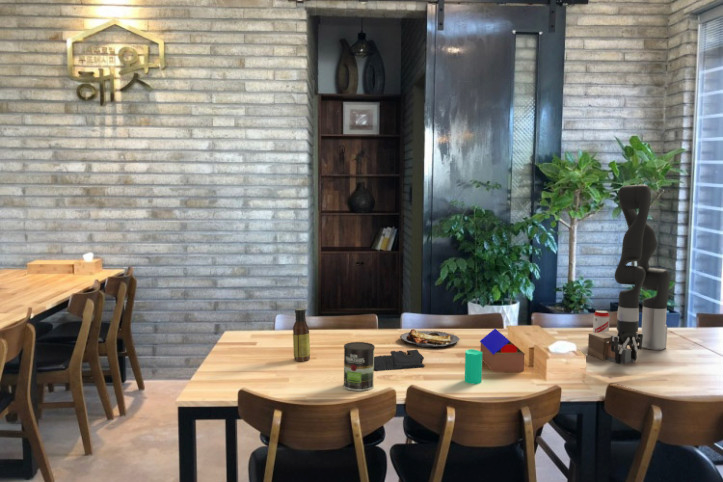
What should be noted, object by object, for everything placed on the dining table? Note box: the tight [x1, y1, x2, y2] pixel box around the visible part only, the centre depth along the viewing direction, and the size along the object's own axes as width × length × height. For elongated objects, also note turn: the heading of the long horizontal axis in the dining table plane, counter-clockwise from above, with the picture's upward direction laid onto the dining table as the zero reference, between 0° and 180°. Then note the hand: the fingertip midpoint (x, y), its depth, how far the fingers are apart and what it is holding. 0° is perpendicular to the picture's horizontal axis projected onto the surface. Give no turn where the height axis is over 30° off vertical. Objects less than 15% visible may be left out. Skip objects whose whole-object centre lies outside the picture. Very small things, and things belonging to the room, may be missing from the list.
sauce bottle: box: [292, 307, 311, 363], centre depth 259 cm, size 7×6×20 cm
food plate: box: [399, 329, 461, 348], centre depth 290 cm, size 25×23×4 cm
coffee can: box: [343, 341, 376, 392], centre depth 228 cm, size 10×10×14 cm
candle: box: [464, 348, 483, 385], centre depth 235 cm, size 6×6×12 cm
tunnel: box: [587, 330, 628, 361], centre depth 264 cm, size 12×8×10 cm, turn 114°
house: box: [479, 328, 526, 373], centre depth 257 cm, size 12×20×12 cm, turn 4°
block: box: [606, 342, 620, 359], centre depth 263 cm, size 5×5×5 cm
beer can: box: [592, 309, 611, 343], centre depth 279 cm, size 6×6×16 cm
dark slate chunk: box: [374, 349, 426, 372], centre depth 256 cm, size 15×22×5 cm
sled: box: [606, 347, 635, 365], centre depth 261 cm, size 7×14×6 cm, turn 24°
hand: (625, 361), depth 256 cm, fingers closed on sled, 6 cm apart
